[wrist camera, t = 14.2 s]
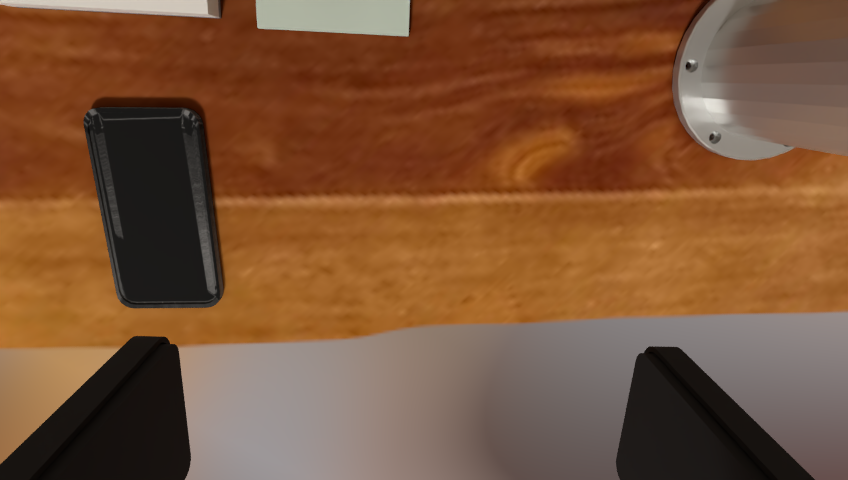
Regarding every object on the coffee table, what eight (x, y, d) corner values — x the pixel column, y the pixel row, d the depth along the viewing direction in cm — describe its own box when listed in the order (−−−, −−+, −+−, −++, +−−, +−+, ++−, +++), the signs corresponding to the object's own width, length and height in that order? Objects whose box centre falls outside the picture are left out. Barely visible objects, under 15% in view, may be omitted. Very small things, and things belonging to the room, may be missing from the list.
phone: (196, 108, 35) (221, 307, 39) (203, 107, 36) (226, 301, 40) (78, 107, 34) (117, 308, 39) (88, 106, 35) (125, 302, 40)
